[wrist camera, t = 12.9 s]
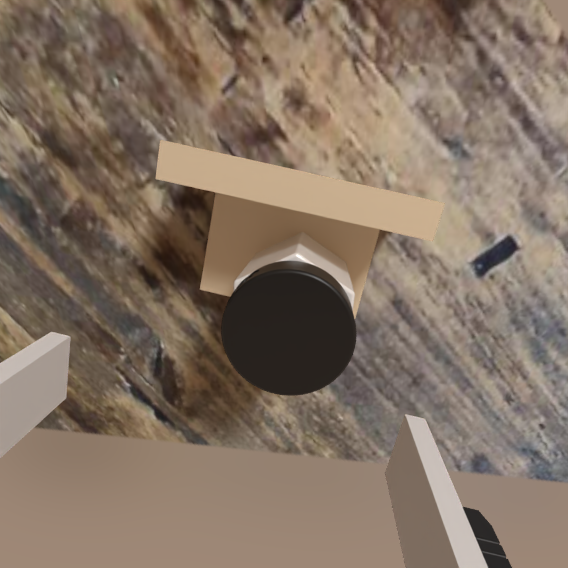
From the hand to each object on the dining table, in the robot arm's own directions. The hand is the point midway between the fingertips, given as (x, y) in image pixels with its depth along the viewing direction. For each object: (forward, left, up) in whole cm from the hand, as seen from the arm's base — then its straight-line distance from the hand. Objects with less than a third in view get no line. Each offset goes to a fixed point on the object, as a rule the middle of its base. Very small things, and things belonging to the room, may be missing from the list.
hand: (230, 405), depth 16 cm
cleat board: (0, +3, -23) cm, 24 cm away
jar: (+2, 0, -21) cm, 21 cm away
